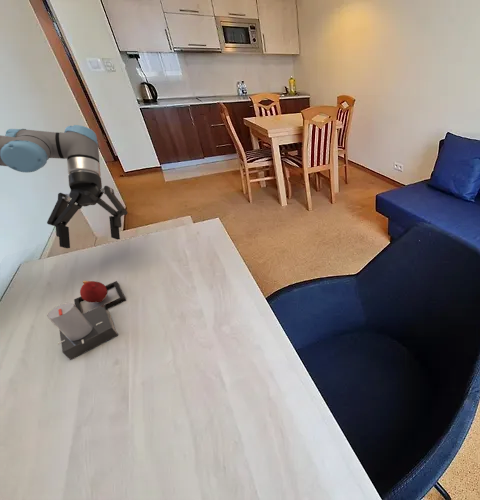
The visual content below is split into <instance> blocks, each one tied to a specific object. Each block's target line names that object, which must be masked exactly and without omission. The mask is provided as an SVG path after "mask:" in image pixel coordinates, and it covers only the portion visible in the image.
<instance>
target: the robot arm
mask: <svg viewBox="0 0 480 500" xmlns="http://www.w3.org/2000/svg"><path fill="white" fill-rule="evenodd" d="M99 151H100V149H99V142H98V136H97V134H96V132H95V131H94V130H92V129H91V128H89V127H88V126H84V125H79V124H73V125H68V126H66V127H65V129H64V132H58V131H57V132H54V131H47V130H46V131H44V130H35V129H26V128H8V129H7V130H6V131H5V135H0V167H8V168H9V169H12V170H14V171H17V172H19V173H33V172H37V171H38V170H40V169H42V168H44V166H46V164H47V162H48V160H49V159H61V160H66V163H67V174H68V177H67V178H68V186H69V189H70V192H69V193H63V192H58V194H57V201H56V202H55V205H54V206H53V208H52V211H51V213H50V215H49V217H48V219H47V221H46V224H47V225H49V226H52V227H55V236H56V237H58V242H59V247H60V248H64V249H71V240H70V228H69V227H70V226H67V224H68V223H69V222H70V221H71V219H72V218H73V217H74V216H75V215H76V213H77V212H78V211H79V210H81V209H82V208H83V207H89V206H95V205H96V204H98V205H99V206H100V207H101V208H102V209H104V210H105V211H106V212H108V213H109V214H110V216H109V226H110V228H109V229H110V238H112V239H115V240H121V237H120V228H122V217H123V216H126V215H128V211H127V209H126V208H125V207H124V205H123V204H122V203H121V201H120V200H119V199H118V197H117V196H116V195H115V191H114V189H113V188H112V187H111V186H108V185H104V186H103V185H102V184H103V183H102V177H101V164H100V152H99ZM103 195H106V197H107V198H108V199H109V201H110V202H111V204H112V205H113V206H114V208H113V207H112V206H110V205H109V204H108V203H107V202H106V201H104V200H103V199H102V196H103Z"/></svg>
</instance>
